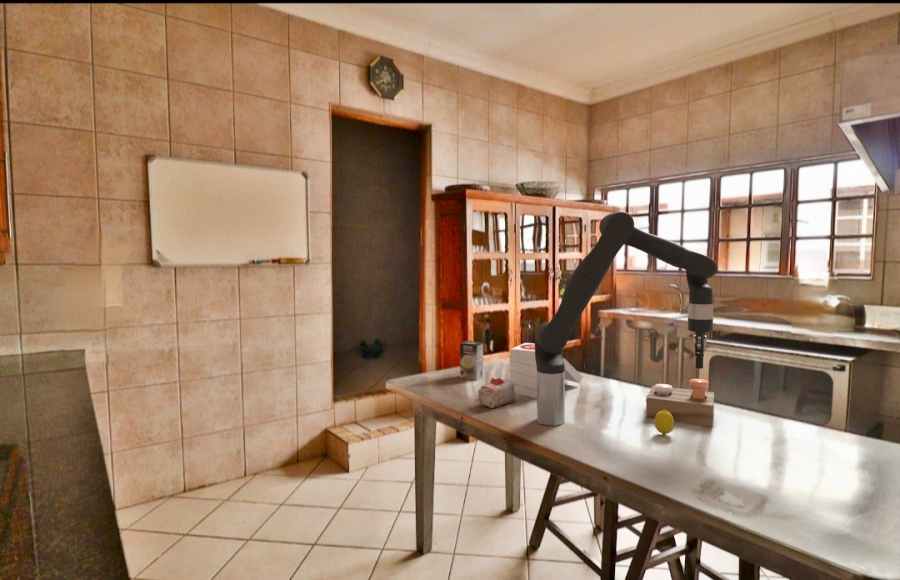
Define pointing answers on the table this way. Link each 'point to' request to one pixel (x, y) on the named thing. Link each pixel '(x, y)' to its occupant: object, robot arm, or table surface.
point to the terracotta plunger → (698, 388)
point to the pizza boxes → (531, 370)
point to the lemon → (664, 422)
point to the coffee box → (471, 360)
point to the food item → (496, 393)
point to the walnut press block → (682, 406)
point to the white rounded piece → (663, 389)
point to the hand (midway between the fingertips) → (699, 367)
